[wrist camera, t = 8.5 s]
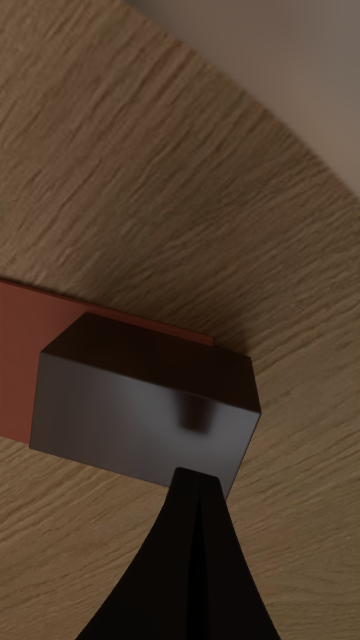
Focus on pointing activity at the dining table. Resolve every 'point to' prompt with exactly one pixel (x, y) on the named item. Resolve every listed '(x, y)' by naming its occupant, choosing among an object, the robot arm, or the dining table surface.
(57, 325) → the terracotta mat
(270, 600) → the dining table surface
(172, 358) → the walnut block
